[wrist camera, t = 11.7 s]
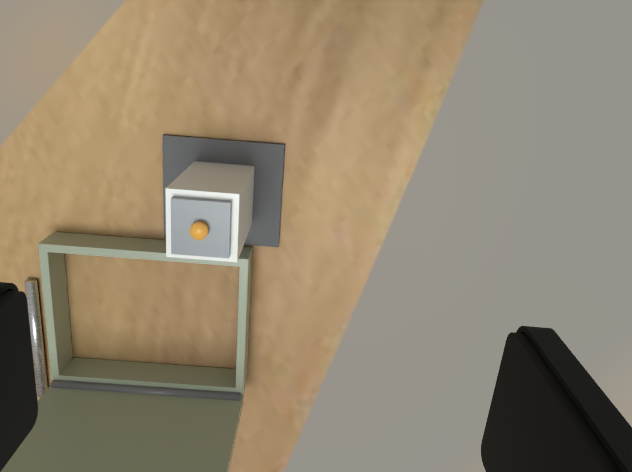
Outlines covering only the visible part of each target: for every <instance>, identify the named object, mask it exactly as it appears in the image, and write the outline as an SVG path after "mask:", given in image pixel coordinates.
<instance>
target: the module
mask: <svg viewBox="0 0 632 472" xmlns="http://www.w3.org/2000/svg"><path fill="white" fill-rule="evenodd" d="M253 190H254V166H248V165H236V164H223V163H211V162H198V161H194V162H193V163H192V164H191V165H190V166H189V167H188V168H187V169H186V170H184V171H183V172H182V173H181V174H180V175H179V176H178V177H177V178H176V179H175V180H174V181H173V182H172V183H171V184H170V185H168V186H167V187H166V188H165V192H166V257H174V258H187V259H200V260H213V261H226V262H237V261H238V259H239V256H240V253H241V251H242V248H243V246H244V243H245V240H246V238H247V235H248V232H249V230H250V227H251V224H252V213H253Z"/></svg>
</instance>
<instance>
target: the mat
mask: <svg viewBox="0 0 632 472" xmlns="http://www.w3.org/2000/svg"><path fill="white" fill-rule="evenodd" d="M284 149H285V144H276V143H263V142H250V141H238V140H225V139H213V138H200V137H188V136H175V135H163V196H164V239H166V192H165V188H166V187H167V186H168V185H170V184H171V183H172V182H173V181H174V180H175V179H176V178H177V177H178V176H179V175H180V174H181V173H182V172H183V171H184V170H186V169H187V168H188V167H189V166H190V165H191V164H192V163H193V162H194V161H198V162H211V163H223V164H236V165H248V166H254V190H253V213H252V224H251V227H250V230H249V232H248V235H247V238H246V240H245V243H244V245H256V246H269V247H279V233H280V216H281V199H282V182H283V165H284Z"/></svg>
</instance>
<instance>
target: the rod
mask: <svg viewBox="0 0 632 472" xmlns="http://www.w3.org/2000/svg"><path fill="white" fill-rule="evenodd" d="M24 282H25V291H26V297H27V304H28V314H29V323H30V333H31V343H32V353H33V362H34V372H35V382H36V391H37V396H39V397H41V396H42V395H43V394H44V393H45V391H46V390H47V389H48V384H47V374H46V364H45V354H44V345H43V335H42V325H41V315H40V305H39V295H38V285H37V280H36V279H27V280H25V281H24Z"/></svg>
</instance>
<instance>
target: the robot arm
mask: <svg viewBox="0 0 632 472" xmlns="http://www.w3.org/2000/svg"><path fill="white" fill-rule="evenodd" d="M37 415H38V402H37V392H36V382H35V372H34V362H33V353H32V343H31V333H30V323H29V314H28V304H27V297H26V295H25V293H24V292H20V291H18V288H17V286H16V285H15V284H13V283H2V282H0V472H1V471H2V469H3V468H4V467H5V465H6V464H7V463H8V461H9V460H10V458H11V457H12V456H13V454H14V453H15V452H16V450H17V449H18V448H19V446H20V445H21V443H22V442H23V441H24V439H25V438H26V437H27V435H28V434H29V433H30V431H31V430H32V428H33V427H34V425H35V422H36V419H37ZM481 456H482V462H483V465H484V467H485V470H486V472H632V427H631V426H630V425H629V423H628V422H627V421H626V420H625V418H624V417H623V416H622V415H621V413H620V412H619V411H618V410H617V408H616V407H615V406H614V405H613V404H612V402H611V401H610V400H609V399H608V397H607V396H606V395H605V394H604V392H603V391H602V390H601V389H600V387H599V386H598V385H597V384H596V382H595V381H594V380H593V379H592V377H591V376H590V375H589V374H588V372H587V371H586V370H585V369H584V367H583V366H582V365H581V364H580V362H579V361H578V360H577V359H576V357H575V356H574V355H573V354H572V352H571V351H570V350H569V349H568V347H567V346H566V345H565V344H564V342H563V341H562V340H561V339H560V337H559V336H558V335H557V334H556V332H555V331H554V330H553V329H551V328H540V327H528V326H521V327H520V328H519V329H518V330H517V332H516V333H510V334H509V335H508V337H507V340H506V344H505V348H504V352H503V356H502V360H501V364H500V369H499V373H498V377H497V381H496V386H495V389H494V394H493V398H492V402H491V406H490V410H489V414H488V418H487V423H486V427H485V431H484V435H483V439H482V445H481Z"/></svg>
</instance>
